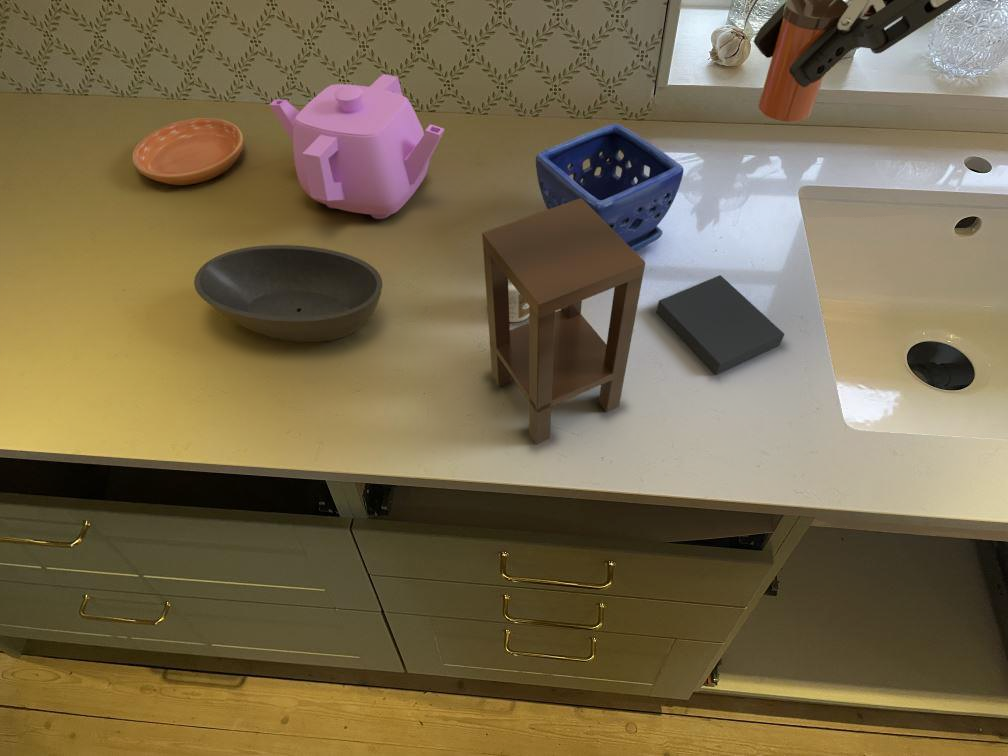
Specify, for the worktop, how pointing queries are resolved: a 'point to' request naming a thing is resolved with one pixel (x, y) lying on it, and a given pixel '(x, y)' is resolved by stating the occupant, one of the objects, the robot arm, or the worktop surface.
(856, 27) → the robot arm
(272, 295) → the bowl
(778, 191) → the worktop surface
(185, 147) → the saucer
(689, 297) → the pad
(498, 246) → the stand
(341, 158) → the teapot
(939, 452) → the worktop surface
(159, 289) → the worktop surface
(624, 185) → the flower pot
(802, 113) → the spice jar
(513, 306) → the pill bottle
